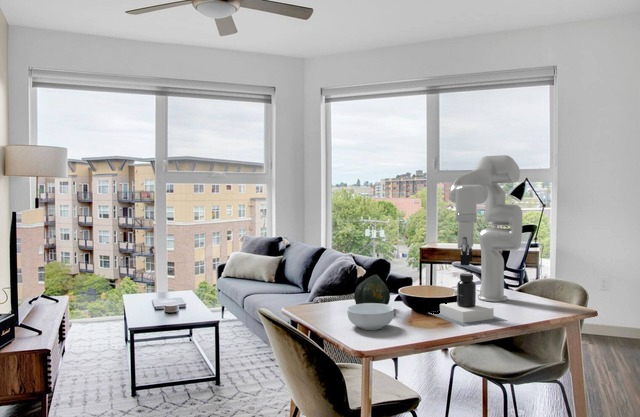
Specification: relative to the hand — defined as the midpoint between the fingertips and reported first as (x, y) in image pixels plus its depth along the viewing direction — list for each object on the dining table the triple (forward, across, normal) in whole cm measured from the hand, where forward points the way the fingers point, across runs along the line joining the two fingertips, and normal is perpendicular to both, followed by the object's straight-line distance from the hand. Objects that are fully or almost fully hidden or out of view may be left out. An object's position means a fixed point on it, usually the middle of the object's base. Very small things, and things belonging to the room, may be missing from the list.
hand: (466, 263), depth 194 cm
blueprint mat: (+21, +1, 0) cm, 21 cm away
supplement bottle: (+17, +1, 0) cm, 17 cm away
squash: (+21, 0, -38) cm, 43 cm away
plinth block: (+20, +1, 0) cm, 20 cm away
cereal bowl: (+20, +26, -31) cm, 45 cm away
